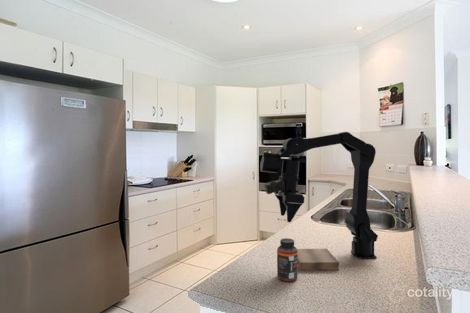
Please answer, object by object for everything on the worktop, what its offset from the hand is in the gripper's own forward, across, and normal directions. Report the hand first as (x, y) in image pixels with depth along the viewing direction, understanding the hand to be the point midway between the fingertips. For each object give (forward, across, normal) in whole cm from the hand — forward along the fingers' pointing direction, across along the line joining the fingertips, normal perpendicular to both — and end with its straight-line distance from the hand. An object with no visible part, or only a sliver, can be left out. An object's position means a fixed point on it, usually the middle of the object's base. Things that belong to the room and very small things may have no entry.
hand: (285, 218), depth 98 cm
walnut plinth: (+13, +5, +10) cm, 17 cm away
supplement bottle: (+14, +15, -2) cm, 21 cm away
